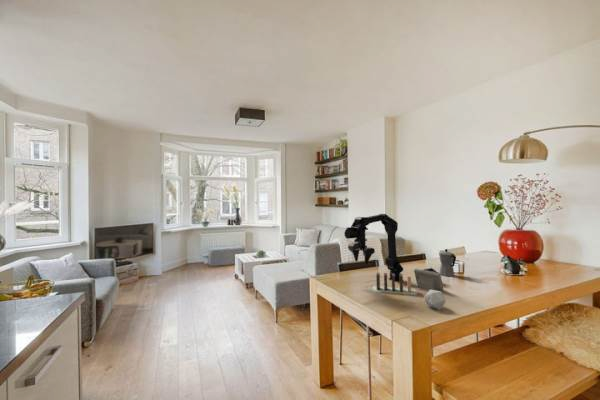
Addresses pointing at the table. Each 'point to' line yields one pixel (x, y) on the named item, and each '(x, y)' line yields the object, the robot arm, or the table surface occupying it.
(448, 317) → the table surface
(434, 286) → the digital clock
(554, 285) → the table surface
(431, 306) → the grey rock
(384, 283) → the domino
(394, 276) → the domino
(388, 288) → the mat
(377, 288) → the domino
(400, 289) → the domino
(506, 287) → the table surface
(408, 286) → the domino
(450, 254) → the coffeepot
